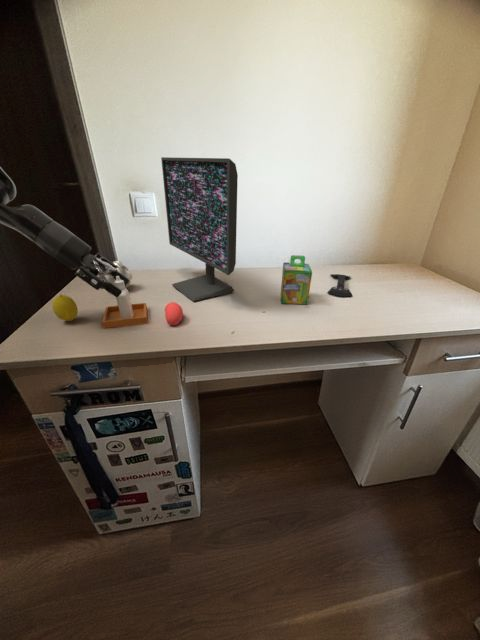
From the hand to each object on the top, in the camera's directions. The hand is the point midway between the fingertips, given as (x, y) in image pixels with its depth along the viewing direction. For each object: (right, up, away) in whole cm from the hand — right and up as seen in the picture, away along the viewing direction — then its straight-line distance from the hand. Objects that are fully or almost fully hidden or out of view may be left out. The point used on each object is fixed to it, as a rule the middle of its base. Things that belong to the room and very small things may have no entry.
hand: (123, 288), depth 78 cm
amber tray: (-1, -8, +5) cm, 9 cm away
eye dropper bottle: (-1, -7, +5) cm, 9 cm away
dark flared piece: (+69, +9, +34) cm, 78 cm away
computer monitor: (+16, +5, +26) cm, 31 cm away
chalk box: (+49, +1, +21) cm, 54 cm away
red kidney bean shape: (+12, -8, +5) cm, 16 cm away
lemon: (-16, -9, +2) cm, 19 cm away
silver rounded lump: (-12, +4, +23) cm, 26 cm away
